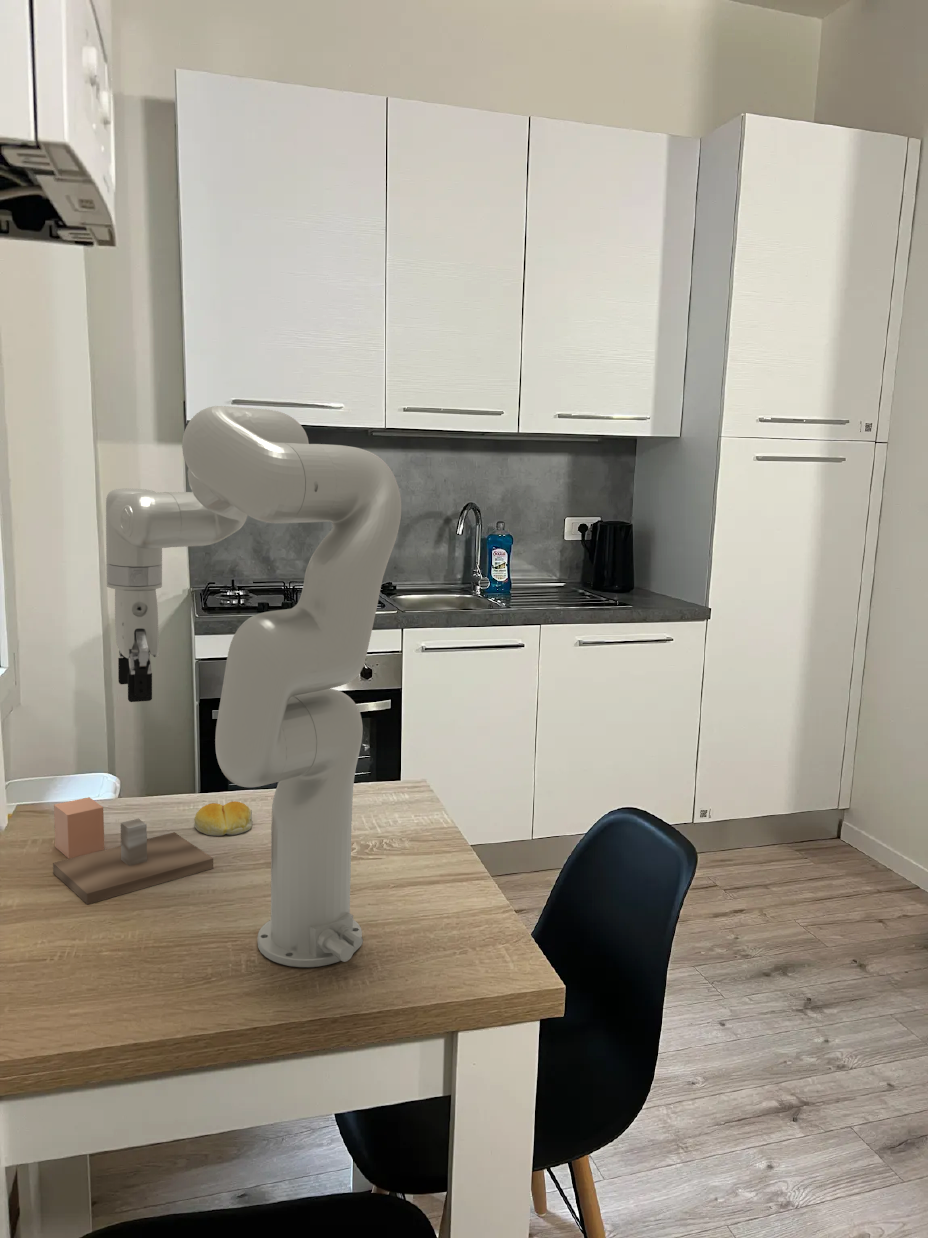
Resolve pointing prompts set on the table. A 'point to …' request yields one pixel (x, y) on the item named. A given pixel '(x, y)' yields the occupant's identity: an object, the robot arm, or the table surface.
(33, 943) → the table surface
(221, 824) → the bread roll
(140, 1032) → the table surface
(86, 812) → the salmon orange block
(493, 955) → the table surface
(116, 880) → the flat brown rectangular board
